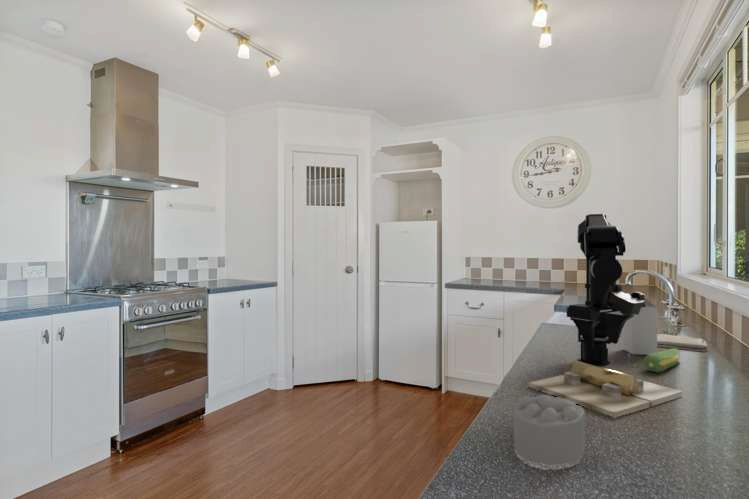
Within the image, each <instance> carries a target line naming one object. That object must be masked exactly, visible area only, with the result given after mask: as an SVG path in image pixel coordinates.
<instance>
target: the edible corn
mask: <svg viewBox="0 0 749 499" xmlns="http://www.w3.org/2000/svg"><path fill="white" fill-rule="evenodd" d="M678 352H679V349H675V348H669V349H665V350H662V351H657V352H656V353H651V354H649V355H646V356H644V364H645V367H646V369H647V370H648V371H649V372H653V373H662V372H664V371H666V370H668V369H671V368H672V367H674V366H677V365H679V364H680V359H679V355H678Z"/></svg>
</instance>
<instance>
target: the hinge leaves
mask: <svg viewBox="0 0 749 499" xmlns="http://www.w3.org/2000/svg"><path fill="white" fill-rule="evenodd" d="M637 380H638V389H637V392H636V393H635V394H634V395H633V396H629V395H625V394H622V393H621V387H620V386H617V385H613V384H610V383H606V384H602V387H599V386H596V385H593V384H589V383H586V382H583V381H580V375H579V374H576V373H572V372H571V371H566V372H564V373H563V374H560V375H556V376H555V375H554V376H549V377H545V378H542V379H537V380H533V381H528V387H529V386H530V387H533V388H536V389H539V390H541V391H544V392H547V393H549V394H552V395H555V396H558V397H561V398H563V399H567V400H569V401H571V402H574V403H576V404H579V405H582V406H585V407H587V408H590V409H592V410H591V411H593V410H595V411H594V412H596V411H598V412H601V413H603V414H602V415H604V414H606V415H605V416H607V415H609V416H612V417H614V418H613V419H616V418H615V417H618V418H620V417H619V416H621V417H623V416H622V415H624V416H626V415H625V414H627V415H629V413H630V414H632V413H633V414H634V413H636V412H639V411H641V410H645V409H648V408H651V407H654V406H657V405H660V404H663V403H666V402H671V401H672V400H676V399H679V398H682V397H683V391H682V390H679V389H674V388H671V387H669V386H668V387H667V386H663V385H661V384H657V383H652V382H649V381H646V380H645V381H644V380H643V379H639V378H637ZM549 394H548V395H549ZM579 405H578V406H579ZM582 406H581V407H582ZM587 408H586V409H587ZM590 409H589V410H590ZM598 412H597V413H598ZM601 413H600V414H601ZM609 416H608V417H609ZM612 417H611V418H612Z"/></svg>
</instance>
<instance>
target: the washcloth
mask: <svg viewBox="0 0 749 499" xmlns="http://www.w3.org/2000/svg"><path fill="white" fill-rule="evenodd" d="M708 347H709V345H707V341H706V340H704V339H702V338H697V337H696V338H694V337H691V336H687V335H671V334H665V333H664V334H662V333H660V334H658V333H657V348H666V349H667V348H669V349H677V350H687V351H692V352H693V351H696V352H705V353H706V351H707V348H708Z"/></svg>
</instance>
